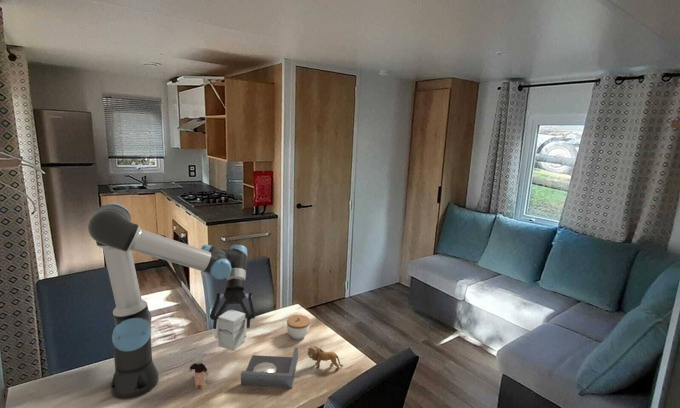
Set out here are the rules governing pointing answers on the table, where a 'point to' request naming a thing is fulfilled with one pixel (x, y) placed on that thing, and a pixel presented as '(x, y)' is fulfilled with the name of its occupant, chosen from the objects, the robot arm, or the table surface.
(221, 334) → the supplement box
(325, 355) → the lion figurine
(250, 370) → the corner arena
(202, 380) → the grandmother figurine
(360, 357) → the table surface
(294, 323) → the lidded jar
